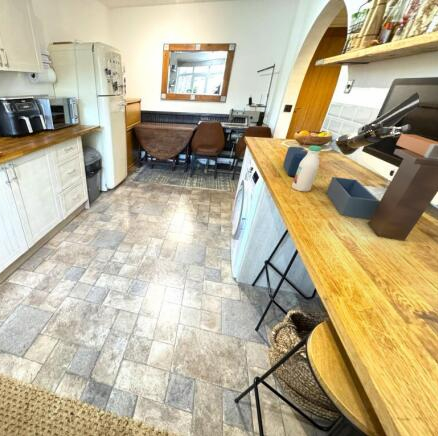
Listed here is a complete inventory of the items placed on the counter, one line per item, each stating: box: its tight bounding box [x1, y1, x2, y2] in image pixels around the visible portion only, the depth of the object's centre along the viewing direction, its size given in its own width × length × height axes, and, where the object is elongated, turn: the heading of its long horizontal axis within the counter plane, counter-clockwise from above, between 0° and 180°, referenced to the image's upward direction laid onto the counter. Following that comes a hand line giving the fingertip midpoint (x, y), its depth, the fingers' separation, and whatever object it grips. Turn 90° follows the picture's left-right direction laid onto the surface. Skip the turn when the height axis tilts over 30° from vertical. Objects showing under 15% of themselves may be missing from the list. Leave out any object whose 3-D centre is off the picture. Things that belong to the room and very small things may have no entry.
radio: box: [282, 137, 308, 178], centre depth 130 cm, size 21×9×20 cm, turn 162°
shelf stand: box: [367, 148, 438, 242], centre depth 77 cm, size 10×12×26 cm
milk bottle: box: [291, 145, 322, 193], centre depth 109 cm, size 8×8×20 cm
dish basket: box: [325, 176, 380, 220], centre depth 98 cm, size 9×23×8 cm, turn 159°
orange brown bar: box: [395, 133, 438, 159], centre depth 74 cm, size 18×4×4 cm, turn 159°
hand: (395, 126), depth 89 cm, fingers open, 8 cm apart
